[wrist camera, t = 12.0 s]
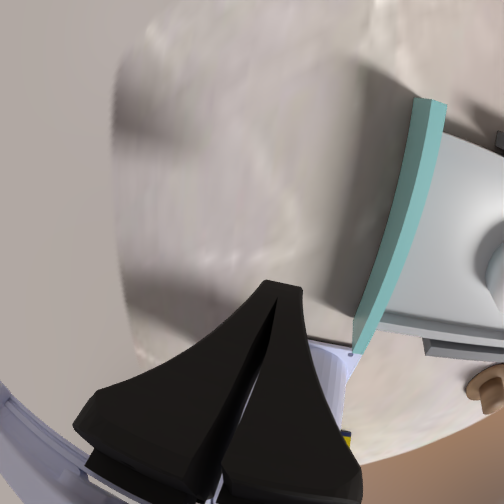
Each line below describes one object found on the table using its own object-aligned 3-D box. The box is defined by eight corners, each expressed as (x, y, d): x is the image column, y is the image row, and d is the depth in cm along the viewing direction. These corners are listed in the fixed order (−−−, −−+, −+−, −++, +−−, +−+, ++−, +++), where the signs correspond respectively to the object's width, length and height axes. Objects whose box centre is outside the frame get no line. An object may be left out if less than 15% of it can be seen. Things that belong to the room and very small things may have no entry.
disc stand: (456, 395, 23) (459, 422, 20) (486, 362, 19) (493, 390, 17) (491, 396, 21) (495, 419, 19) (520, 364, 18) (528, 389, 15)
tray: (352, 320, 21) (351, 352, 18) (414, 97, 12) (431, 99, 9) (497, 342, 18) (506, 369, 15) (576, 178, 9) (600, 195, 6)
